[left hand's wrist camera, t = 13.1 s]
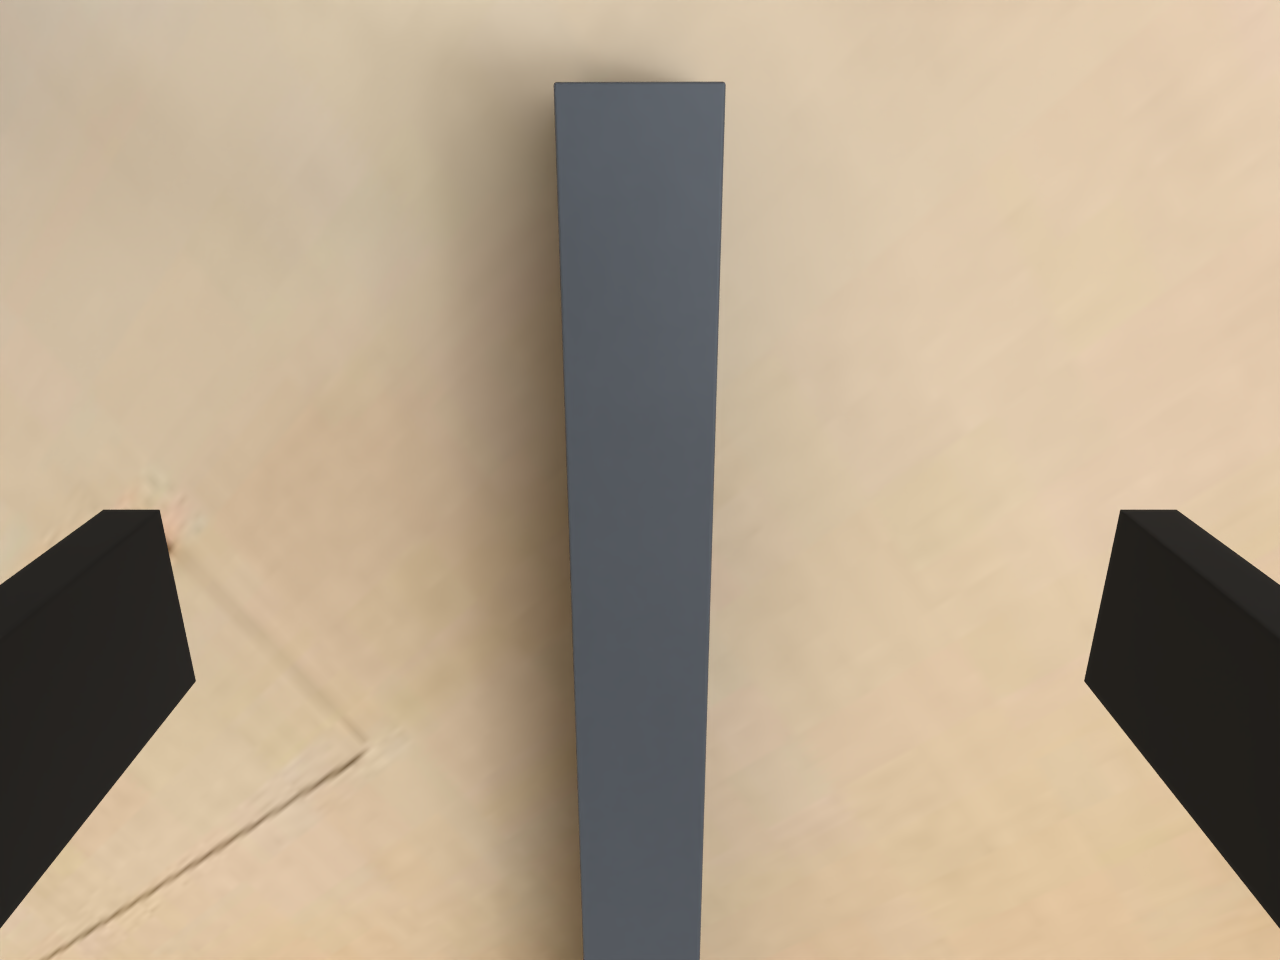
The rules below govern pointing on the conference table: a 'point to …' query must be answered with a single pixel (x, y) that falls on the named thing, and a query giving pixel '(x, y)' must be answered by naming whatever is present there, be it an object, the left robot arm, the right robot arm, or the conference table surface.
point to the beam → (640, 492)
